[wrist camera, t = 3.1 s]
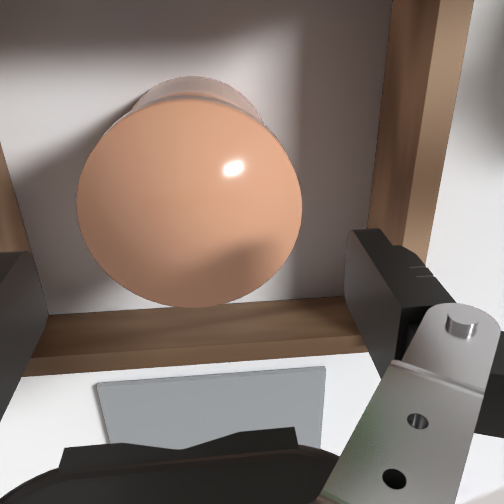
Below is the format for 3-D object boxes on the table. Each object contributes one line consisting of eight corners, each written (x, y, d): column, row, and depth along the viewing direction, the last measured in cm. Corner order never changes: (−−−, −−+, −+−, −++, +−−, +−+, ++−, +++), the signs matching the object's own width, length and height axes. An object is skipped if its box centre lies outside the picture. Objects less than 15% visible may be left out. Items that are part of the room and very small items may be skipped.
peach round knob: (99, 70, 18) (53, 107, 12) (276, 65, 18) (306, 97, 13) (125, 230, 21) (98, 314, 16) (275, 222, 21) (298, 301, 16)
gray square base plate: (97, 383, 25) (96, 387, 25) (324, 366, 26) (326, 370, 25) (130, 520, 31) (130, 525, 30) (314, 503, 32) (315, 507, 31)
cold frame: (-103, -103, 15) (-321, -165, 9) (434, -108, 16) (577, -166, 10) (32, 333, 23) (-31, 458, 17) (377, 310, 24) (435, 420, 18)
